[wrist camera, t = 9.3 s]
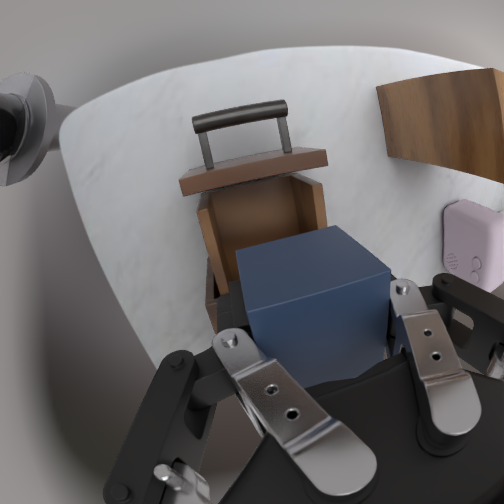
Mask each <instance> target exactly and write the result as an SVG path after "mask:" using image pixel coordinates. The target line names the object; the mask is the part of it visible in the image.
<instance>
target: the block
mask: <svg viewBox="0 0 504 504" xmlns="http://www.w3.org/2000/svg"><path fill="white" fill-rule="evenodd" d="M236 258H237V264H238V269H239V275H240V281H241V287H242V292H243V298H244V304H245V309H246V314H247V317H248V321H249V324H250V328H251V331H252V334H253V338H254V341H255V344H256V345H257V346H258V347H259V348H260V349H261V351H262V352H263V353H264V354H265V355H266V356H267V357H268V358H271V357H274V358H276V359H277V360H278V361H279V363H280V364H281V365H282V366H283V367H284V368H285V369H286V370H287V371H288V372H289V373H290V375H291V376H292V377H293V378H294V379H295V380H296V381H297V382H298V383H299V384H300V385H301V386H302V387H303V388H307V387H311V386H314V385H317V384H320V383H324V382H329V381H337V380H344V379H351V378H354V377H357V376H359V375H361V374H362V373H364V372H365V371H367V370H368V369H370V368H371V367H373V366H374V365H376V364H377V363H378V362H381V361H383V359H384V352H385V344H386V336H387V326H388V316H389V303H390V286H391V269H390V268H388V267H387V266H386V265H385V264H384V263H382V262H381V261H380V260H379V259H378V258H376V257H375V256H374V255H373V254H372V253H370V252H369V251H368V250H367V249H365V248H364V247H363V246H362V245H360V244H359V243H358V242H357V241H355V240H354V239H353V238H352V237H350V236H349V235H348V234H347V233H345V232H344V231H343V230H341V229H340V228H339V227H337V226H336V225H335V226H331V227H327V228H323V229H319V230H315V231H311V232H307V233H303V234H299V235H295V236H291V237H287V238H283V239H279V240H275V241H271V242H267V243H263V244H259V245H255V246H251V247H247V248H243V249H239V250H236Z"/></svg>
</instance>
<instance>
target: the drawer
mask: <svg viewBox="0 0 504 504" xmlns="http://www.w3.org/2000/svg"><path fill="white" fill-rule="evenodd" d="M287 115H288V108H287V104H286V102H285V100H276V101H269V102H262V103H256V104H250V105H244V106H239V107H234V108H229V109H224V110H219V111H215V112H210V113H206V114H202V115H198V116H194V117H192V123H193V128H194V131H195V134H198V136H199V140H200V145H201V149H202V153H203V158H204V162H205V166H202V167H198V168H194V169H190V170H189V171H188V172H187V173H186V174H184V175H183V176H182V177H181V178H180V179H179V183H180V187H181V190H182V194H183V196H187V195H191V194H195V193H199V192H203V191H207V190H211V189H215V188H219V187H224V186H228V185H232V184H237V183H241V182H246V181H250V180H255V179H260V178H265V177H269V176H274V175H279V174H285V173H290V172H295V171H301V170H307V169H312V168H318V167H324V166H328V162H327V155H326V150H325V149H315V148H303V147H294V148H291V143H290V138H289V132H288V127H287V122H286V116H287ZM274 118H277V123H278V128H279V133H280V139H281V144H282V150H276V151H271V152H265V153H260V154H255V155H250V156H245V157H241V158H236V159H231V160H227V161H223V162H218V163H214V164H213V160H212V155H211V151H210V146H209V142H208V138H207V133H206V132H208V131H212V130H216V129H221V128H225V127H230V126H235V125H240V124H245V123H250V122H256V121H261V120H267V119H274ZM197 215H198V219H199V223H200V226H201V230H202V234H203V237H204V241H205V244H206V248H207V251H208V255H209V258H210V262H211V265H212V269H213V272H214V276H215V279H216V282H217V286H218V289H219V292H220V295H222V294H226V293H230V289H229V282H232V281H236V280H240V275H239V269H238V264H237V258H236V250H239V249H243V248H247V247H251V246H255V245H259V244H263V243H267V242H271V241H275V240H279V239H283V238H287V237H291V236H295V235H299V234H303V233H307V232H311V231H315V230H319V229H323V228H327V220H326V211H325V203H324V195H323V187H322V184H321V183H319V182H317V181H314V180H312V179H310V178H307V177H305V176H302V175H300V174H297V173H293V174H287V175H282V176H277V177H272V178H267V179H262V180H257V181H253V182H248V183H244V184H239V185H235V186H230V187H226V188H222V189H218V190H213V191H209V192H205V193H202V194H201V198H200V201H199V205H198V208H197Z"/></svg>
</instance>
